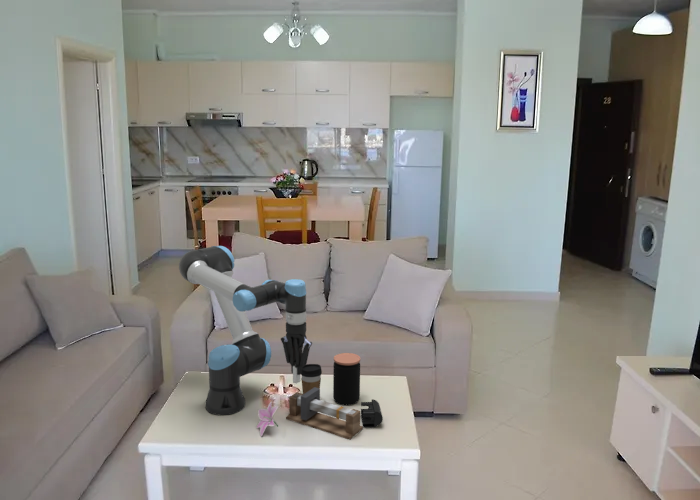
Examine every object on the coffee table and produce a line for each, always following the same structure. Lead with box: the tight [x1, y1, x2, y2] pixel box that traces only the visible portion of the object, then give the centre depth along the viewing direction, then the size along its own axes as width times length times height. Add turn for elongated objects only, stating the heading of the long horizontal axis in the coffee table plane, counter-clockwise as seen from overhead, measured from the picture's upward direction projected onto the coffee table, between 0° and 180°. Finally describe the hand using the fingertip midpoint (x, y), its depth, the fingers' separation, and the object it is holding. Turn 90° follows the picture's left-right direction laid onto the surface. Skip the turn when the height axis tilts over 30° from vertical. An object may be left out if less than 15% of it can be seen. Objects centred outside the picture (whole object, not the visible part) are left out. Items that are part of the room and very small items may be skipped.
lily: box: [255, 400, 279, 437], centre depth 217 cm, size 12×12×10 cm
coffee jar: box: [332, 352, 361, 406], centre depth 240 cm, size 11×11×18 cm
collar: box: [301, 387, 321, 420], centre depth 224 cm, size 2×9×9 cm, turn 149°
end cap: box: [360, 399, 384, 429], centre depth 224 cm, size 10×7×7 cm
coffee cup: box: [300, 363, 323, 394], centre depth 238 cm, size 8×8×15 cm
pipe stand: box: [285, 391, 364, 441], centre depth 222 cm, size 28×9×8 cm, turn 59°
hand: (296, 381), depth 226 cm, fingers closed
